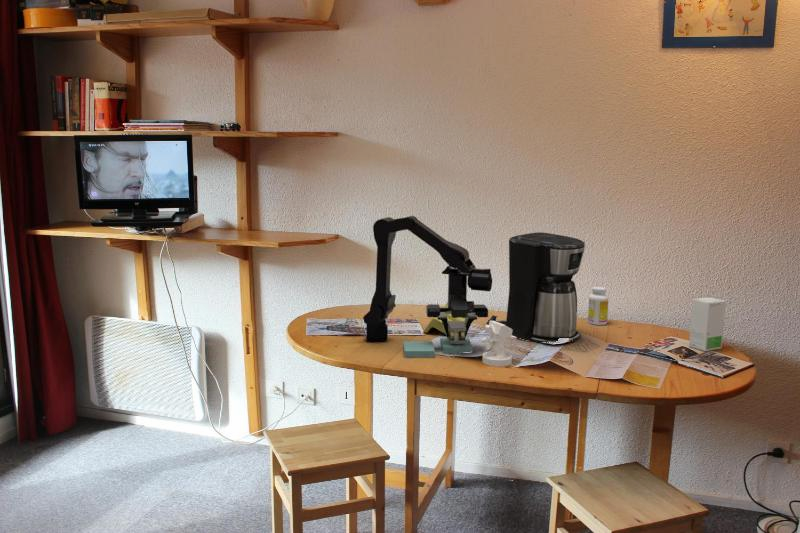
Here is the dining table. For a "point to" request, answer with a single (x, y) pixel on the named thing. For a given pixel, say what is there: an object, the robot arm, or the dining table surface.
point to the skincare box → (707, 323)
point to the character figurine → (497, 345)
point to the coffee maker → (543, 287)
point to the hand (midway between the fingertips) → (456, 337)
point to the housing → (455, 337)
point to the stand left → (418, 349)
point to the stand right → (455, 346)
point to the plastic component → (439, 324)
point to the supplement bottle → (598, 306)
